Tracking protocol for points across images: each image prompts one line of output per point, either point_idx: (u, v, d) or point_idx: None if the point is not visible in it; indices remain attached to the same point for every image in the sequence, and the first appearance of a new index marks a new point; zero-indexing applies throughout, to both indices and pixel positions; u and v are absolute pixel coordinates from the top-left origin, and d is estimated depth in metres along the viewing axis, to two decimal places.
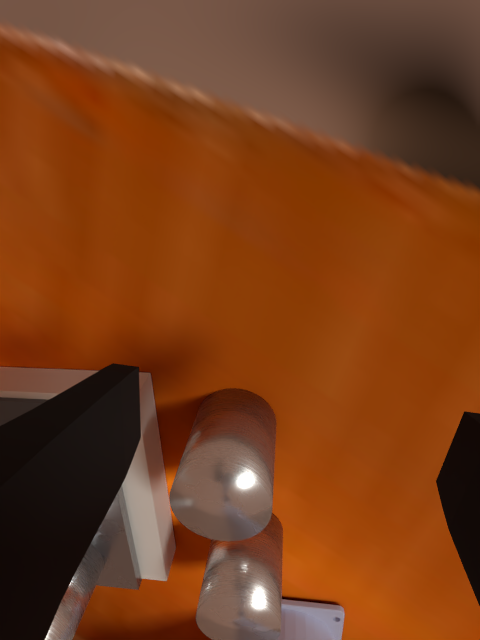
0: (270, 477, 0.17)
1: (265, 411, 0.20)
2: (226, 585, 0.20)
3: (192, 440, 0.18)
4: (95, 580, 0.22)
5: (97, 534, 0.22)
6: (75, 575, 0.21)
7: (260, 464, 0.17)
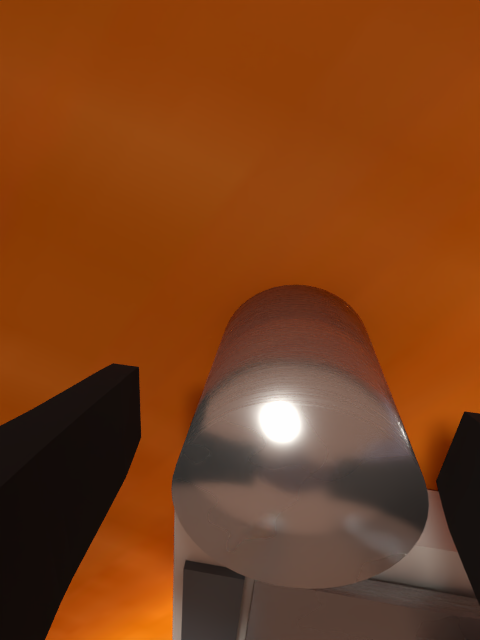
0: (272, 369, 0.07)
1: (250, 307, 0.10)
2: None
3: None
4: None
5: None
6: None
7: (228, 385, 0.07)
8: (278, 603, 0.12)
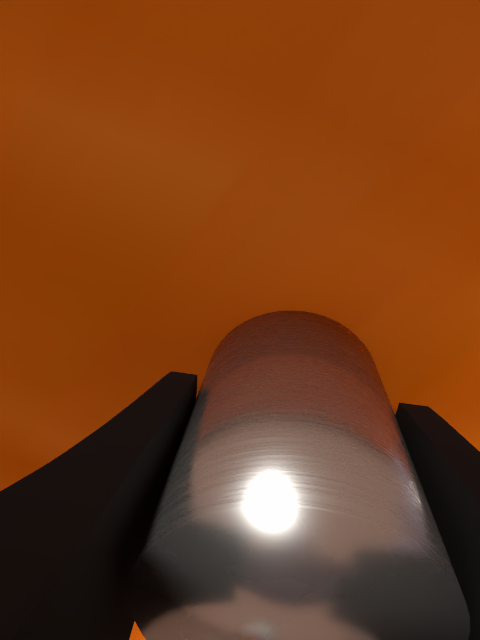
0: (260, 440, 0.05)
1: (237, 339, 0.09)
2: None
3: None
4: None
5: None
6: None
7: (203, 459, 0.06)
8: None
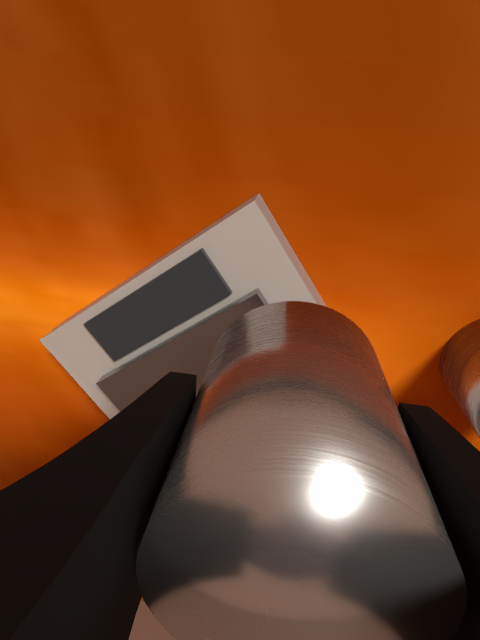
0: (272, 417, 0.05)
1: (245, 325, 0.09)
2: None
3: None
4: None
5: None
6: None
7: (215, 433, 0.06)
8: None
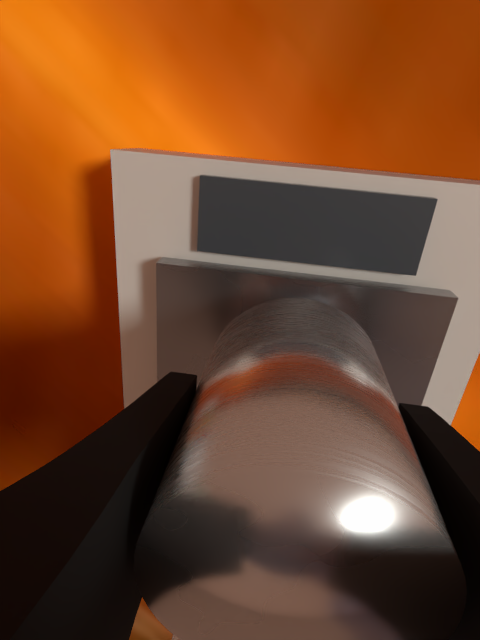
0: (276, 412, 0.05)
1: (247, 321, 0.09)
2: None
3: None
4: None
5: None
6: None
7: (217, 426, 0.06)
8: (413, 321, 0.10)
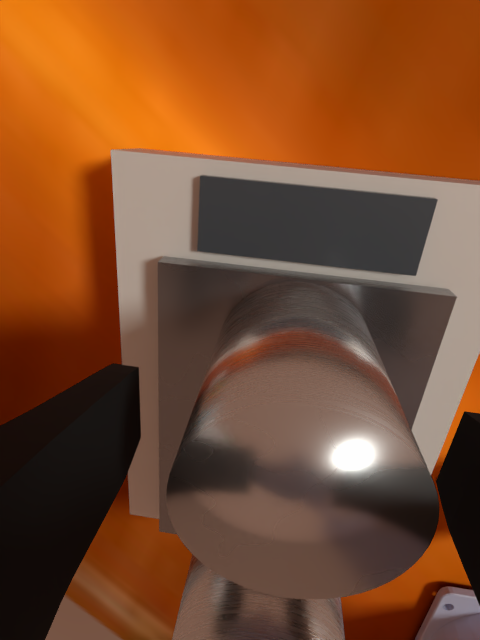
0: (284, 367, 0.07)
1: (254, 301, 0.10)
2: None
3: None
4: None
5: None
6: None
7: (235, 380, 0.07)
8: (412, 320, 0.11)
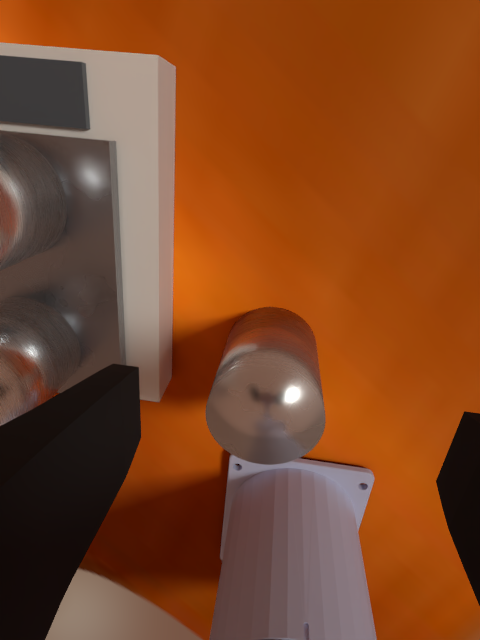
0: None
1: None
2: (254, 359, 0.14)
3: None
4: (67, 366, 0.16)
5: (77, 303, 0.16)
6: (41, 340, 0.15)
7: None
8: (84, 163, 0.14)
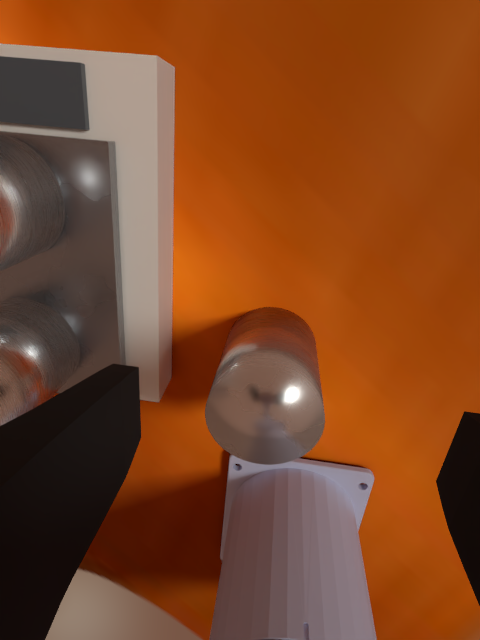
0: None
1: None
2: (254, 359, 0.14)
3: None
4: (67, 366, 0.16)
5: (76, 303, 0.16)
6: (41, 340, 0.15)
7: None
8: (84, 163, 0.14)
